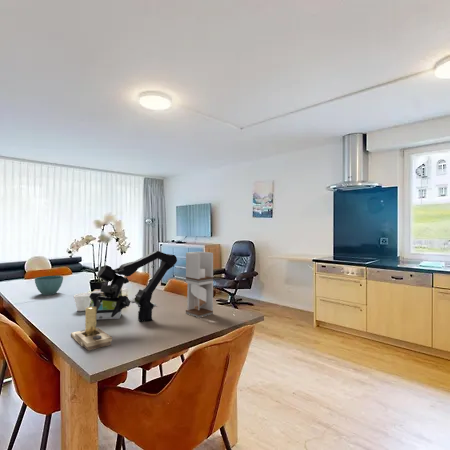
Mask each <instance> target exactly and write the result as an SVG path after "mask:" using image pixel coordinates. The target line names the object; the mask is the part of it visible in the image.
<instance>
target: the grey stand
mask: <svg viewBox="0 0 450 450" xmlns="http://www.w3.org/2000/svg"><path fill="white" fill-rule="evenodd" d="M185 283H186V284H187V297H186V298H187V301H186V302H187V308H186V309H185V314H186V313H187V314H186V315H188V314H190V315H189V316H191V315H193V316H192V317H194V316H196V317H195V318H197V317H200V318H203V317H202V316H204V317H208V316H211V314H212V315H214V252H210V251H209V252H208V251H190V252H188V251H187V252H185ZM207 315H208V316H207Z"/></svg>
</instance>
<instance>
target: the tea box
mask: <svg viewBox="0 0 450 450" xmlns="http://www.w3.org/2000/svg"><path fill="white" fill-rule="evenodd" d="M100 291H101V288H100V289H94V290H93V291H92V293H93V292H94V293H100V295H101V296H105V295H104V294H103V293H104V292H100ZM120 295H121V296H123V289H121V294H119V295H118V297H119V296H120ZM93 306H94V303H93V301H92V300H91V302H90V307H93ZM115 306H116V302H112V301H103V300H102V302H101V305H100V307H99V309H98V310H97V318H96V321H97V320H98V321H99V320H113V319H114V320H115V319H116V320H117V319H118V320H119V319H121V315H122V310H123V309H122V310H120V311H119V312H118V313H117V314H116V315H115V316H114V317H111V315H112V312H113V310H114V308H115Z"/></svg>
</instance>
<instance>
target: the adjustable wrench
mask: <svg viewBox="0 0 450 450" xmlns="http://www.w3.org/2000/svg"><path fill="white" fill-rule="evenodd" d="M129 300H130V303H135V297H134V298H133V297H132V299H130V298H129ZM151 303H152V304H153V305H154V306H156V307H157V304H156V303H154V302H151ZM135 304H136V303H135Z"/></svg>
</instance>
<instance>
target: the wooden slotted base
mask: <svg viewBox="0 0 450 450" xmlns="http://www.w3.org/2000/svg"><path fill="white" fill-rule="evenodd" d="M70 337H71V338H72V339H74V340H75V341H76V343H78V344H79V345H80V346H81V347H84V348H85V349H86V350H87V351H92V350H96V349H101V348H104V347H108V346H111V345H112V341H113V337H112V336H111V335H110V334H108V333H107V332H106V331H104V330H102V329H101V328H99V327H96V335H92V336H87V337H85V329H82V330H78V331H74V332H70Z"/></svg>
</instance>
